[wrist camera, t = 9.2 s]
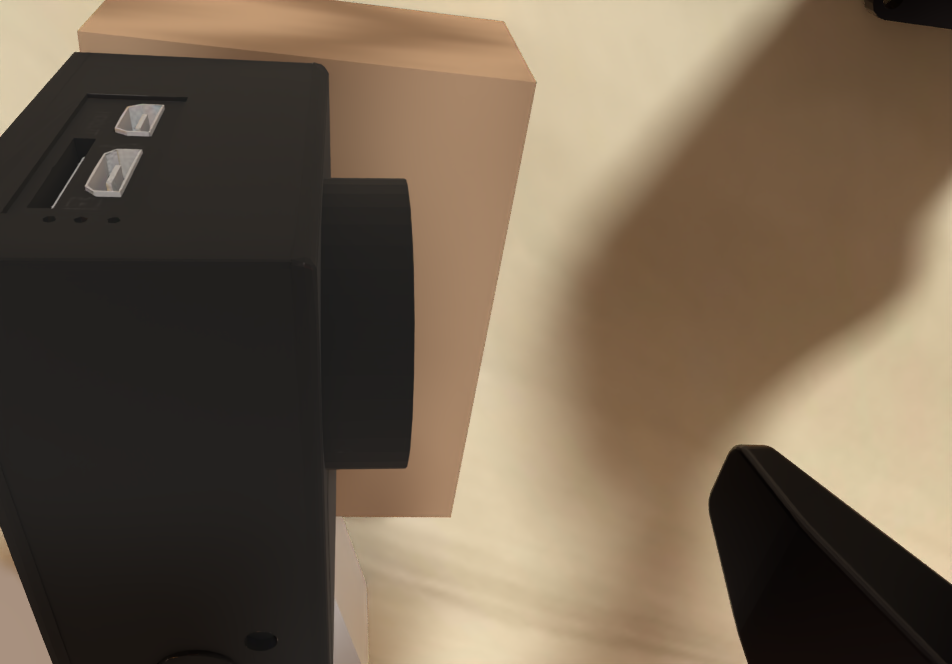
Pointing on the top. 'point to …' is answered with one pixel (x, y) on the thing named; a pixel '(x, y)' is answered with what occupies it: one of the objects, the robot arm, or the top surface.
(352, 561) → the grey block
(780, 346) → the top surface
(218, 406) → the digital camera
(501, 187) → the light brown rectangular block
